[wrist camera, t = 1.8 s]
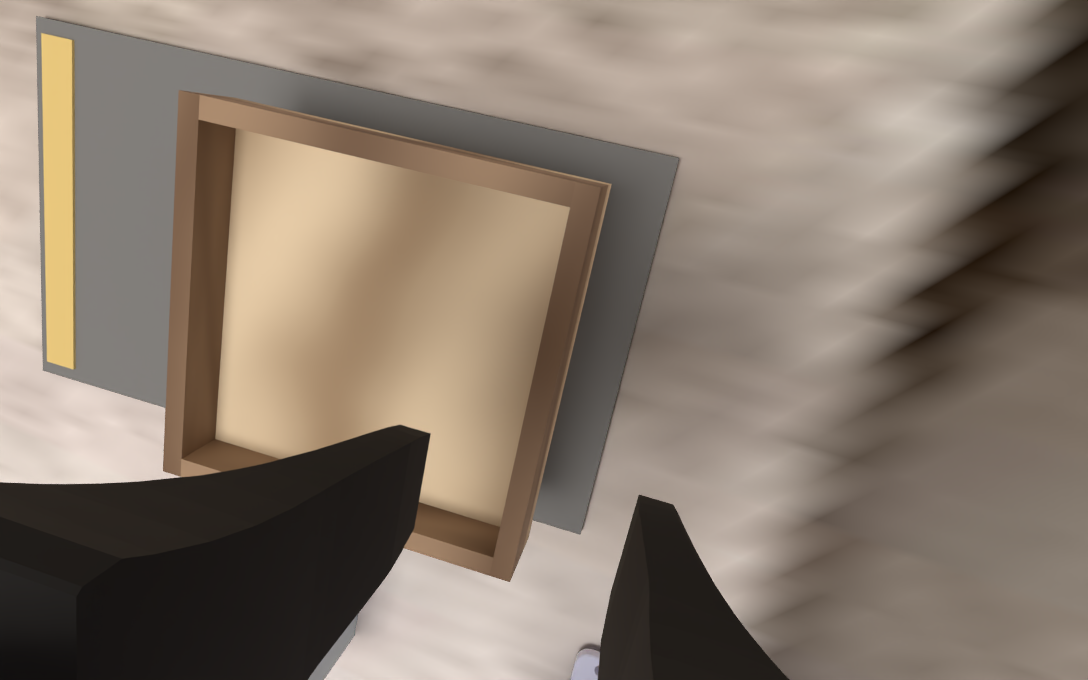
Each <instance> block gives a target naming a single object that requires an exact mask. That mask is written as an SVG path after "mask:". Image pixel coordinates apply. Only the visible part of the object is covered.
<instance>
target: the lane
mask: <svg viewBox="0 0 1088 680" xmlns="http://www.w3.org/2000/svg"><path fill="white" fill-rule="evenodd" d="M36 37H37V88H38V140H39V191H40V243H41V294H42V346H43V371H46V372H50V373H53V374H56V375H60V376H63V377H66V378H69V379H73V380H76V381H79V382H82V383H86V384H89V385H92V386H96V387H99V388H102V389H105V390H109V391H112V392H115V393H118V394H122V395H125V396H128V397H132V398H135V399H138V400H141V401H145V402H148V403H151V404H154V405H158V406H161V407H164V408H166V387H167V362H168V338H169V313H170V289H171V265H172V240H173V216H174V191H175V167H176V142H177V118H178V93H179V90H182V91H189V92H197V93H204V94H211V95H219V96H226V97H233V98H239V99H243V100H248V101H252V102H256V103H261V104H265V105H270V106H274V107H278V108H283V109H287V110H291V111H296V112H300V113H304V114H309V115H313V116H318V117H322V118H326V119H331V120H335V121H339V122H344V123H348V124H352V125H357V126H361V127H365V128H370V129H374V130H379V131H383V132H387V133H392V134H396V135H400V136H405V137H409V138H413V139H418V140H422V141H426V142H431V143H435V144H440V145H444V146H448V147H453V148H457V149H461V150H466V151H470V152H474V153H479V154H483V155H487V156H492V157H496V158H501V159H505V160H509V161H514V162H518V163H522V164H527V165H531V166H535V167H540V168H544V169H548V170H553V171H557V172H562V173H566V174H570V175H575V176H579V177H583V178H588V179H592V180H596V181H601V182H605V183H609V184H612V185H611V189H610V193H609V197H608V202H607V206H606V210H605V214H604V219H603V223H602V227H601V231H600V236H599V240H598V244H597V248H596V253H595V257H594V261H593V265H592V270H591V274H590V278H589V282H588V287H587V291H586V295H585V299H584V304H583V308H582V312H581V316H580V321H579V325H578V329H577V333H576V338H575V342H574V346H573V350H572V355H571V359H570V363H569V367H568V372H567V376H566V380H565V384H564V388H563V393H562V397H561V401H560V405H559V410H558V414H557V418H556V422H555V427H554V431H553V435H552V439H551V444H550V448H549V452H548V456H547V461H546V465H545V469H544V473H543V478H542V482H541V486H540V490H539V495H538V499H537V503H536V507H535V512H534V516H533V520H534V521H537V522H541V523H544V524H547V525H550V526H554V527H557V528H560V529H564V530H567V531H570V532H573V533H577V534H581V530H582V527H583V523H584V519H585V515H586V511H587V508H588V504H589V500H590V496H591V492H592V489H593V485H594V481H595V477H596V473H597V469H598V466H599V462H600V458H601V454H602V450H603V447H604V443H605V439H606V435H607V431H608V428H609V424H610V420H611V416H612V412H613V409H614V405H615V401H616V397H617V393H618V390H619V386H620V382H621V378H622V374H623V370H624V367H625V363H626V359H627V355H628V351H629V348H630V344H631V340H632V336H633V332H634V329H635V325H636V321H637V317H638V313H639V310H640V306H641V302H642V298H643V294H644V291H645V287H646V283H647V279H648V275H649V272H650V268H651V264H652V260H653V256H654V252H655V249H656V245H657V241H658V237H659V233H660V230H661V226H662V222H663V218H664V214H665V211H666V207H667V203H668V199H669V195H670V192H671V188H672V184H673V180H674V176H675V173H676V169H677V165H678V161H679V158H677V157H672V156H668V155H663V154H659V153H654V152H650V151H645V150H641V149H636V148H632V147H627V146H623V145H618V144H613V143H609V142H604V141H600V140H595V139H591V138H586V137H582V136H577V135H573V134H568V133H564V132H559V131H555V130H550V129H546V128H541V127H537V126H532V125H527V124H523V123H518V122H514V121H509V120H505V119H500V118H496V117H491V116H487V115H482V114H478V113H473V112H469V111H464V110H460V109H455V108H450V107H446V106H441V105H437V104H432V103H428V102H423V101H419V100H414V99H410V98H405V97H401V96H396V95H392V94H387V93H383V92H378V91H373V90H369V89H364V88H360V87H355V86H351V85H346V84H342V83H337V82H333V81H328V80H324V79H319V78H315V77H310V76H306V75H301V74H297V73H292V72H287V71H283V70H278V69H274V68H269V67H265V66H260V65H256V64H251V63H247V62H242V61H238V60H233V59H229V58H224V57H220V56H215V55H210V54H206V53H201V52H197V51H192V50H188V49H183V48H179V47H174V46H170V45H165V44H161V43H156V42H152V41H147V40H143V39H138V38H134V37H129V36H124V35H120V34H115V33H111V32H106V31H102V30H97V29H93V28H88V27H84V26H79V25H75V24H70V23H66V22H61V21H57V20H52V19H47V18H43V17H38V16H36Z"/></svg>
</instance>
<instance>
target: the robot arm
mask: <svg viewBox="0 0 1088 680" xmlns="http://www.w3.org/2000/svg"><path fill="white" fill-rule="evenodd" d="M430 435H431V433H427V432H424V431H420V430H417V429H414V428H410V427H407V426H403V425H396V426H391V427H387V428H384V429H380V430H377V431H374V432H370V433H367V434H364V435H361V436H358V437H355V438H352V439H349V440H345V441H342V442H339V443H336V444H333V445H330V446H326V447H323V448H320V449H317V450H313V451H309V452H306V453H302V454H298V455H295V456H291V457H287V458H283V459H280V460H276V461H272V462H268V463H264V464H260V465H255V466H250V467H246V468H241V469H235V470H229V471H224V472H218V473H212V474H206V475H199V476H190V477H180V478H170V479H161V480H151V481H141V482H126V483H104V484H25V483H0V680H308V679H309V677H310V676H311V674H312V673H313V672H314V670H315V669H316V667H317V666H318V665H319V663H320V662H321V661H322V660H323V658H324V657H325V656H326V654H327V653H328V652H329V650H330V649H331V648H332V647H333V645H334V644H335V643H336V641H337V640H338V639H339V638H340V636H341V635H342V634H343V632H344V631H345V630H346V628H347V627H348V626H349V625H350V623H351V622H352V621H353V619H354V618H355V617H356V616H357V614H358V613H359V612H360V610H361V609H362V608H363V606H364V605H365V604H366V603H367V601H368V600H369V599H370V597H371V596H372V595H373V593H374V592H375V591H376V589H377V588H378V587H379V585H380V584H381V583H382V581H383V580H384V579H385V577H386V576H387V575H388V573H389V572H390V570H391V569H392V567H393V565H394V564H395V562H396V560H397V558H398V557H399V555H400V553H401V552H402V550H403V548H404V546H405V544H406V543H407V541H408V539H409V537H410V535H411V533H412V532H413V530H414V527H415V521H416V515H417V510H418V504H419V498H420V493H421V487H422V481H423V475H424V470H425V464H426V458H427V452H428V447H429V441H430ZM598 665H599V668H598V667H597V666H598ZM570 680H789V679H788V678H787V677H786V676H785V675H784V674H783V673H782V672H781V670H780V669H779V668H778V667H777V666H776V665H775V664H774V663H773V662H772V660H771V659H770V658H769V657H768V656H767V655H766V654H765V652H764V651H763V650H762V649H761V647H760V646H759V645H758V644H757V642H756V641H755V640H754V639H753V637H752V636H751V635H750V634H749V633H748V631H747V630H746V629H745V628H744V626H743V625H742V624H741V622H740V621H739V620H738V618H737V617H736V615H735V614H734V613H733V611H732V610H731V608H730V607H729V605H728V604H727V602H726V601H725V599H724V598H723V596H722V595H721V593H720V592H719V590H718V589H717V587H716V586H715V584H714V582H713V581H712V579H711V577H710V575H709V574H708V572H707V570H706V568H705V566H704V565H703V563H702V561H701V559H700V558H699V556H698V554H697V552H696V550H695V548H694V546H693V544H692V542H691V540H690V538H689V536H688V534H687V532H686V530H685V528H684V525H683V523H682V521H681V519H680V517H679V515H678V513H677V511H676V509H675V507H674V505H673V504H669V503H666V502H662V501H659V500H656V499H652V498H649V497H645V496H642V495H639V496H638V500H637V503H636V507H635V510H634V514H633V517H632V521H631V524H630V528H629V531H628V535H627V538H626V542H625V545H624V549H623V552H622V556H621V559H620V562H619V566H618V569H617V573H616V576H615V580H614V583H613V587H612V590H611V595H610V600H609V605H608V609H607V614H606V619H605V624H604V629H603V634H602V639H601V647H600V652H599V651H596V650H593V649H583V650H581V651H580V652H578V654H577V656H576V660H575V663H574V667H573V670H572V674H571V678H570Z"/></svg>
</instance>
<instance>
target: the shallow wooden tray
mask: <svg viewBox="0 0 1088 680" xmlns="http://www.w3.org/2000/svg"><path fill="white" fill-rule="evenodd" d="M611 185H612V184H609V183H605V182H601V181H596V180H592V179H588V178H583V177H579V176H575V175H570V174H566V173H562V172H557V171H553V170H548V169H544V168H540V167H535V166H531V165H527V164H522V163H518V162H514V161H509V160H505V159H501V158H496V157H492V156H487V155H483V154H479V153H474V152H470V151H466V150H461V149H457V148H453V147H448V146H444V145H440V144H435V143H431V142H426V141H422V140H418V139H413V138H409V137H405V136H400V135H396V134H392V133H387V132H383V131H379V130H374V129H370V128H365V127H361V126H357V125H352V124H348V123H344V122H339V121H335V120H331V119H326V118H322V117H318V116H313V115H309V114H304V113H300V112H296V111H291V110H287V109H283V108H278V107H274V106H270V105H265V104H261V103H256V102H252V101H248V100H243V99H239V98H233V97H226V96H219V95H211V94H204V93H197V92H189V91H182V90H179V93H178V118H177V142H176V167H175V191H174V216H173V240H172V265H171V289H170V313H169V338H168V362H167V387H166V411H165V436H164V460H163V471H165V472H168V473H171V474H174V475H177V476H180V477H190V476H199V475H206V474H212V473H218V472H224V471H229V470H235V469H241V468H246V467H250V466H255V465H260V464H264V463H268V462H272V461H276V460H280V459H283V458H287V457H291V456H295V455H298V454H302V453H306V452H309V451H313V450H317V449H320V448H323V447H326V446H330V445H333V444H336V443H339V442H342V441H345V440H349V439H352V438H355V437H358V436H361V435H364V434H367V433H370V432H374V431H377V430H380V429H384V428H387V427H391V426H396V425H403V426H407V427H410V428H414V429H417V430H420V431H424V432H427V433H431V435H430V441H429V447H428V452H427V458H426V464H425V470H424V475H423V481H422V487H421V493H420V498H419V504H418V510H417V515H416V521H415V527H414V530H413V532H412V533H411V535H410V537H409V539H408V541H407V543H406V544H405V546H404V548H405V549H408V550H411V551H414V552H418V553H421V554H424V555H427V556H430V557H433V558H436V559H439V560H443V561H446V562H449V563H452V564H455V565H458V566H461V567H464V568H468V569H471V570H474V571H477V572H480V573H483V574H486V575H489V576H493V577H496V578H499V579H502V580H505V581H508V582H510V580H511V578H512V576H513V573H514V571H515V568H516V566H517V564H518V561H519V559H520V556H521V554H522V552H523V549H524V547H525V545H526V542H527V540H528V537H529V533H530V529H531V524H532V520H533V516H534V512H535V507H536V503H537V499H538V495H539V490H540V486H541V482H542V478H543V473H544V469H545V465H546V461H547V456H548V452H549V448H550V444H551V439H552V435H553V431H554V427H555V422H556V418H557V414H558V410H559V405H560V401H561V397H562V393H563V388H564V384H565V380H566V376H567V372H568V367H569V363H570V359H571V355H572V350H573V346H574V342H575V338H576V333H577V329H578V325H579V321H580V316H581V312H582V308H583V304H584V299H585V295H586V291H587V287H588V282H589V278H590V274H591V270H592V265H593V261H594V257H595V253H596V248H597V244H598V240H599V236H600V231H601V227H602V223H603V219H604V214H605V210H606V206H607V202H608V197H609V193H610V189H611Z"/></svg>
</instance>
